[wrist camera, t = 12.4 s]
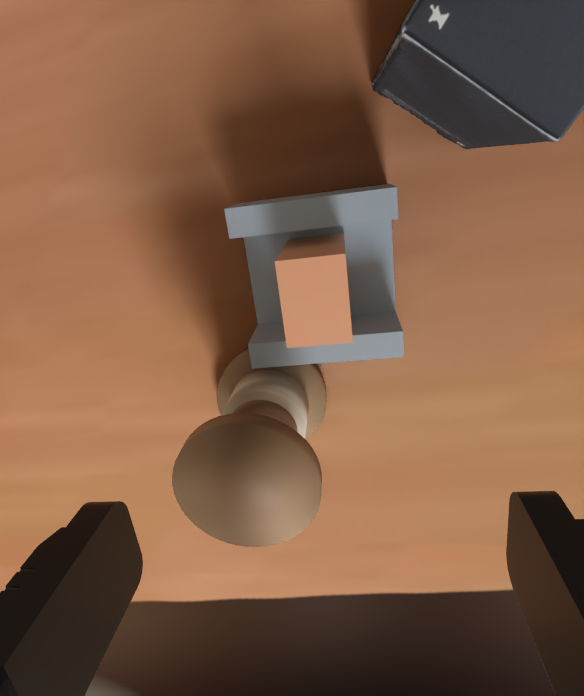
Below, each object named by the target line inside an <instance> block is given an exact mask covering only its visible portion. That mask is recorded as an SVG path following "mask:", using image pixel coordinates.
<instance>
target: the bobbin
mask: <svg viewBox="0 0 584 696" xmlns="http://www.w3.org/2000/svg"><path fill="white" fill-rule="evenodd" d="M217 403H218V408H219V411H220V413H221V416H218V417H216V418H213V419H211V420H209V421H207V422H205V423H204V424H202V425H201V426H199V427H198V428H197V429H196V430H195V431H194V432H193V433H192V434H191V435H190V436H189V438H188V439H187V440H186V442H185V444H184V446H183V447H182V449H181V451H180V453H179V455H178V457H177V459H176V461H175V464H174V468H173V474H172V484H173V489H174V494H175V497H176V499H177V502H178V503H179V505H180V507H181V509H182V510H183V512H184V513H185V515H186V516H187V517H188V518H189V519H190V520H191V521H192V522H193V523H194V524H195V525H196V526H197V527H198V528H200V529H201V530H203V531H204V532H205V533H207V534H209V535H211V536H212V537H214V538H217V539H219V540H221V541H224V542H227V543H230V544H234V545H238V546H246V547H265V546H271V545H276V544H279V543H282V542H285V541H287V540H290V539H292V538H293V537H295V536H297V535H298V534H300V533H301V532H302V531H303V530H305V529H306V527H307V526H308V525H309V524H310V523H311V522H312V520H313V519H314V517H315V515H316V513H317V511H318V508H319V505H320V499H321V487H322V473H321V468H320V464H319V461H318V458H317V456H316V454H315V452H314V450H313V449H312V447H311V446H310V445H309V443H308V442H307V441H306V440H305V439H306V438H308V437H309V436H310V435H311V434H313V433H314V432H315V430H316V429H317V428H318V427H319V425H320V423H321V422H322V419H323V417H324V414H325V409H326V386H325V382H324V379H323V377H322V375H321V373H320V371H319V370H318V368H317V367H316V365H315V364H305V365H292V366H279V367H266V368H253V369H252V366H251V360H250V355H249V349H246V350H244V351H243V352H241V353H239V354H238V355H237V356H236V357H234V358H233V360H232V361H231V362H230V363H229V364H228V366H227V367H226V369H225V371H224V373H223V374H222V376H221V379H220V381H219V384H218V388H217Z"/></svg>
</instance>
